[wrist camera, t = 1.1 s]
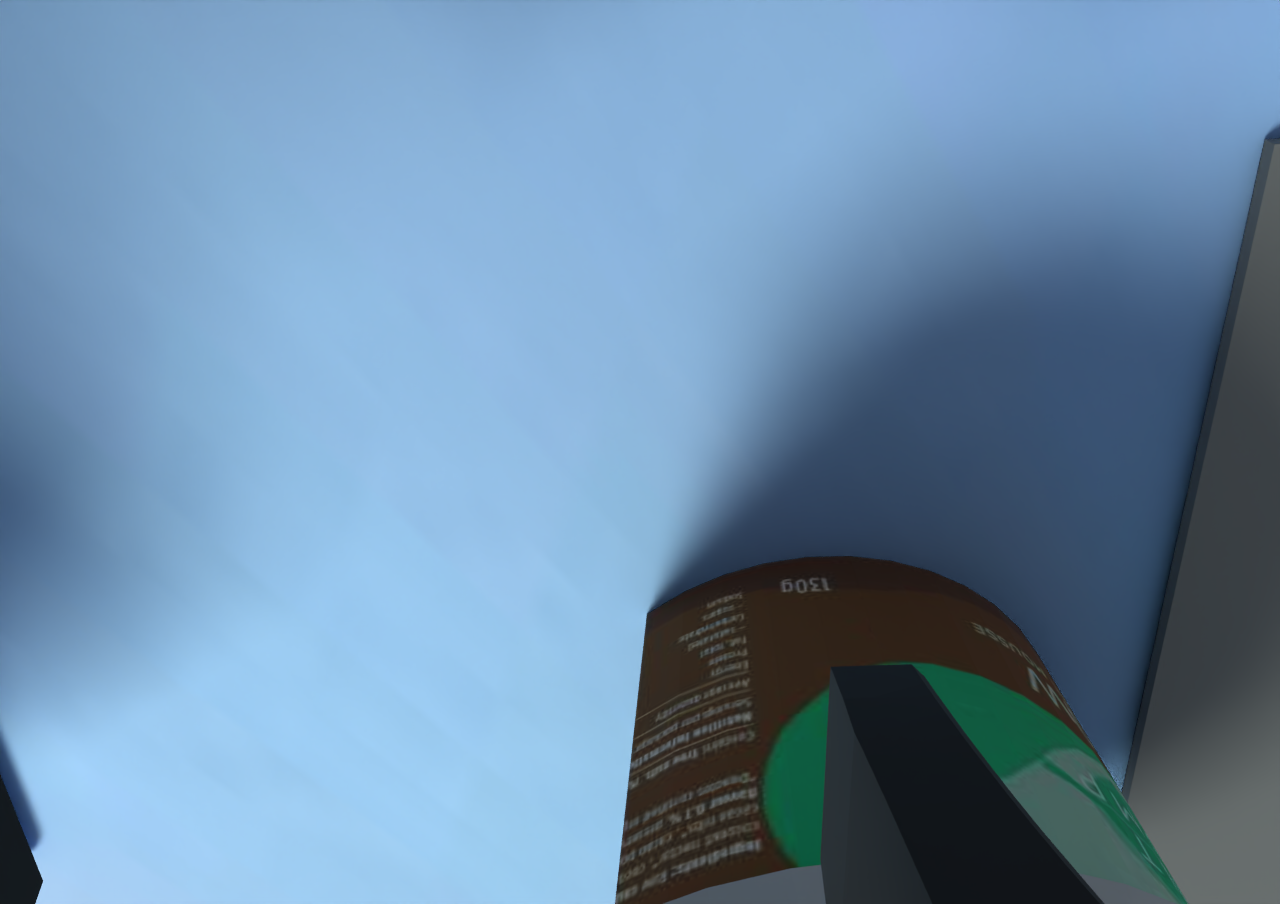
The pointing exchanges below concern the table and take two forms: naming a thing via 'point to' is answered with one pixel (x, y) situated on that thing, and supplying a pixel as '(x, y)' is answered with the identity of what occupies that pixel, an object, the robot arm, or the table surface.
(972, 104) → the table surface
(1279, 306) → the mat
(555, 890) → the table surface
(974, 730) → the food container
